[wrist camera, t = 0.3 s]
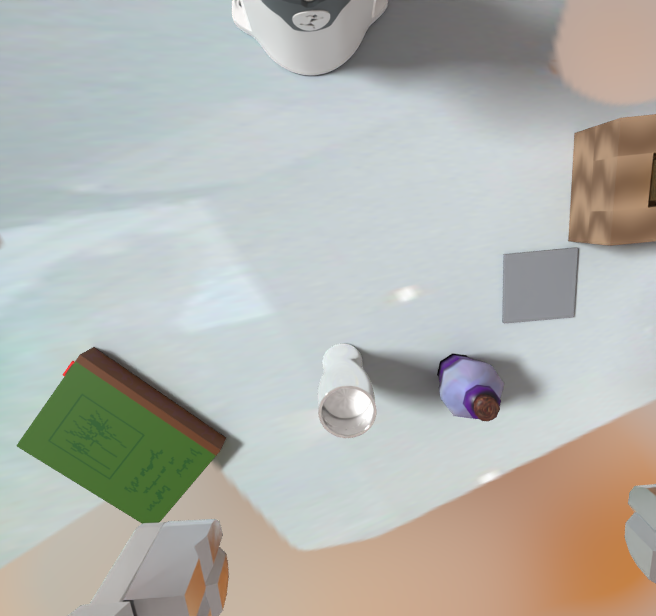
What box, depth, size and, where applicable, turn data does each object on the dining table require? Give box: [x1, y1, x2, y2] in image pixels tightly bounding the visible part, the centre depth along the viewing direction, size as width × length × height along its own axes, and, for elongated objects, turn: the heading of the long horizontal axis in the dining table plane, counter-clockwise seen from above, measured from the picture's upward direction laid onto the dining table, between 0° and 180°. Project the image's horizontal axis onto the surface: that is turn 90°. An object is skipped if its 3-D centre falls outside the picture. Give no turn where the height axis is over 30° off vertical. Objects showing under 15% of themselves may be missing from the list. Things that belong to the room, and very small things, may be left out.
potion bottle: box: [437, 354, 504, 421], centre depth 52 cm, size 9×9×12 cm
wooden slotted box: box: [568, 114, 656, 245], centre depth 47 cm, size 14×14×8 cm
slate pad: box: [502, 248, 578, 323], centre depth 54 cm, size 10×10×1 cm
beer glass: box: [318, 343, 376, 438], centre depth 50 cm, size 7×7×15 cm
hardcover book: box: [17, 347, 226, 524], centre depth 59 cm, size 25×19×4 cm
